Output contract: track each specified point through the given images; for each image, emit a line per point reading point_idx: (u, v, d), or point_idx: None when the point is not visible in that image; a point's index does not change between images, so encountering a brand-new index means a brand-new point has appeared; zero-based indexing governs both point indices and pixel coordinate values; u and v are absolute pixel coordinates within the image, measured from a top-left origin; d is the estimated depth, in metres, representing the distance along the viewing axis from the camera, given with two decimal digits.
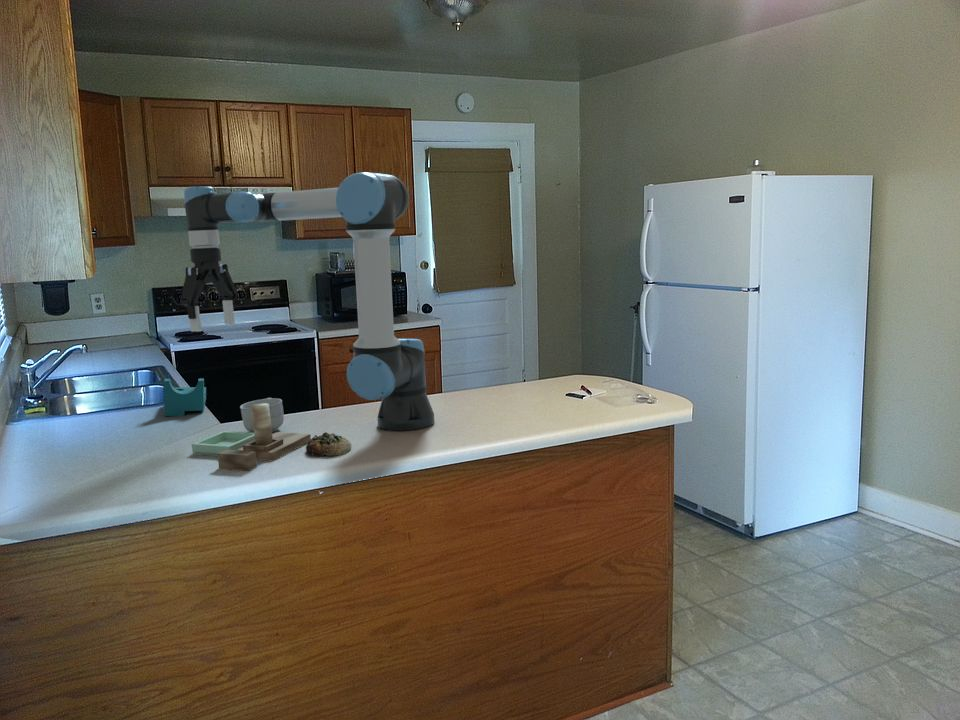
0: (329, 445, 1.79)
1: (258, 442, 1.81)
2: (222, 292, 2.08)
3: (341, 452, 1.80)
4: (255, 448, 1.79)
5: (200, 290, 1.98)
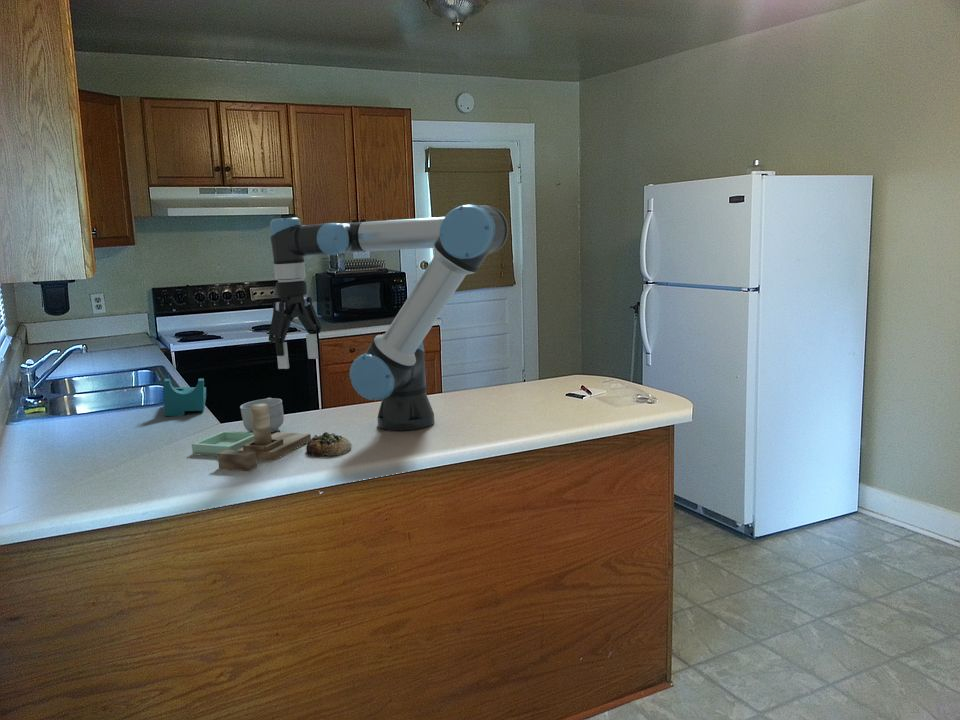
0: (329, 445, 1.80)
1: (257, 443, 1.81)
2: (306, 325, 2.00)
3: (341, 452, 1.80)
4: (255, 448, 1.79)
5: (288, 325, 1.90)
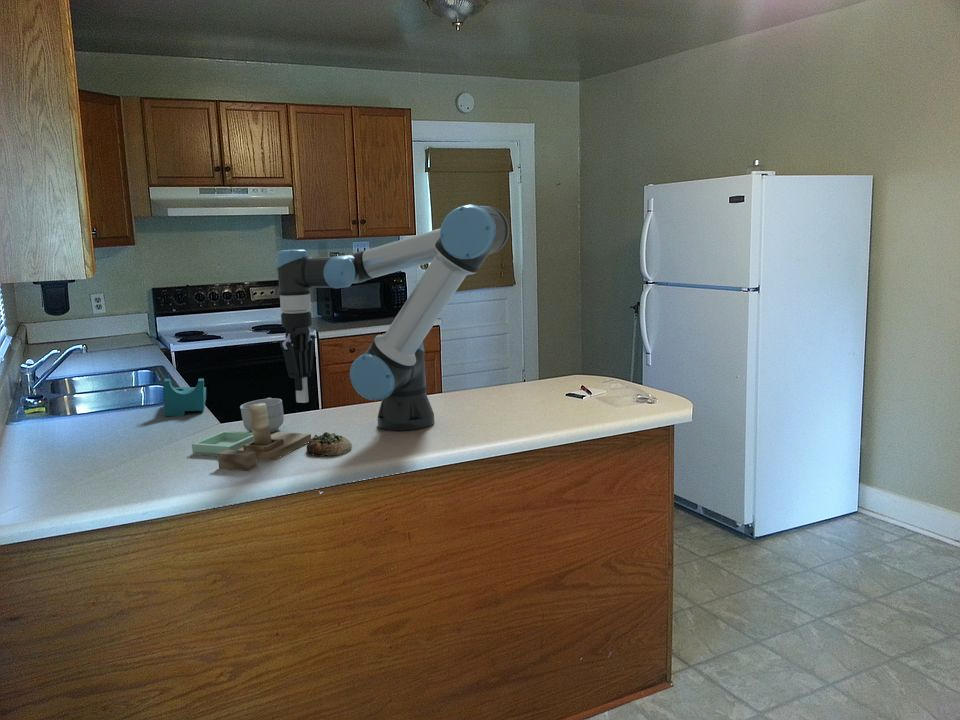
0: (329, 445, 1.80)
1: (256, 443, 1.81)
2: None
3: (341, 452, 1.80)
4: (255, 448, 1.79)
5: (300, 359, 1.95)
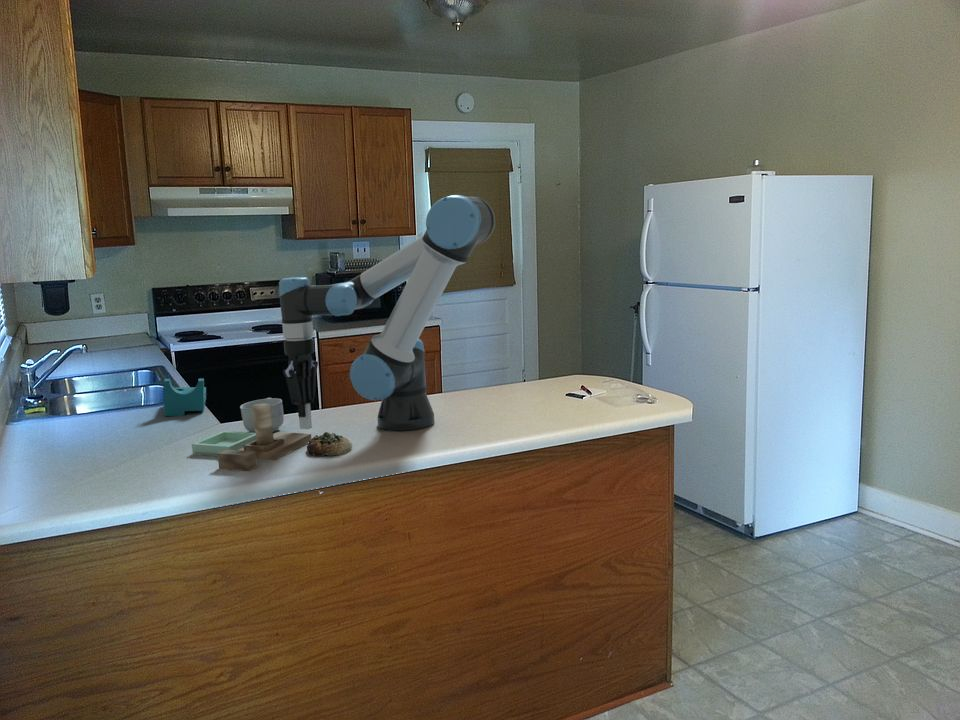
0: (330, 445, 1.80)
1: (259, 442, 1.81)
2: None
3: (342, 452, 1.80)
4: (255, 448, 1.79)
5: (303, 386, 1.96)
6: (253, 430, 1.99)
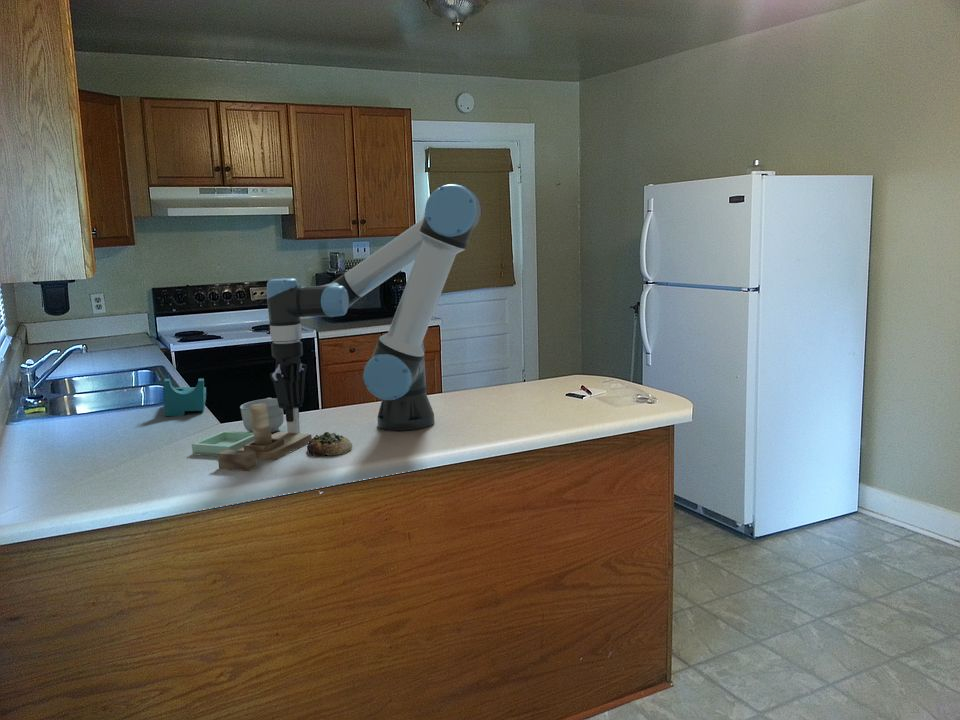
0: (330, 445, 1.80)
1: (257, 443, 1.81)
2: None
3: (342, 452, 1.80)
4: (256, 448, 1.79)
5: (291, 390, 1.91)
6: None
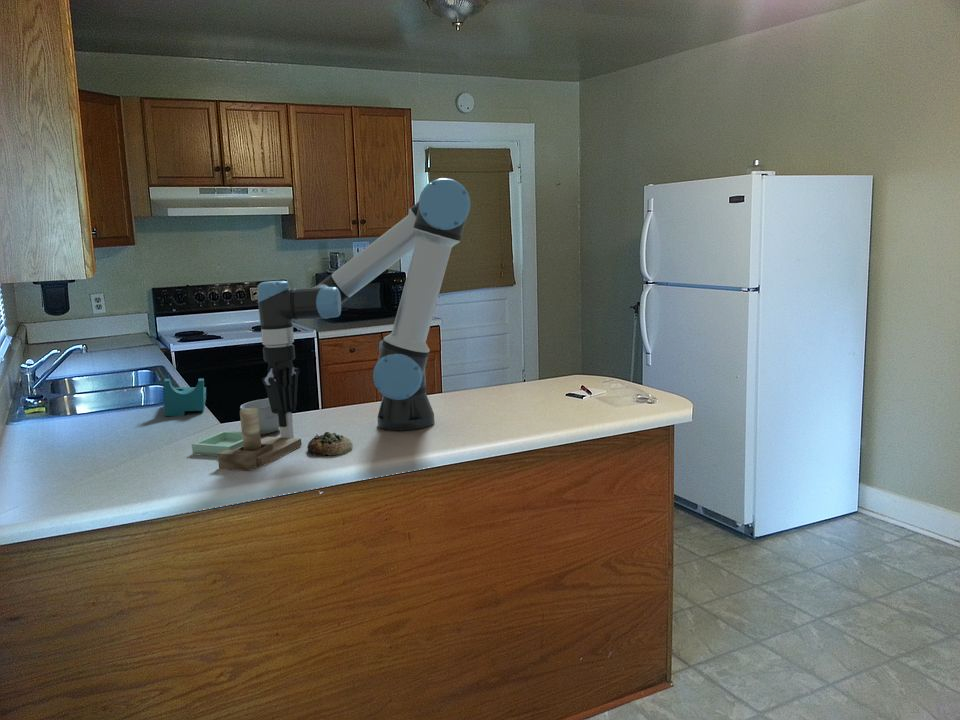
0: (330, 445, 1.80)
1: (246, 448, 1.77)
2: None
3: (342, 451, 1.80)
4: None
5: (284, 394, 1.88)
6: None
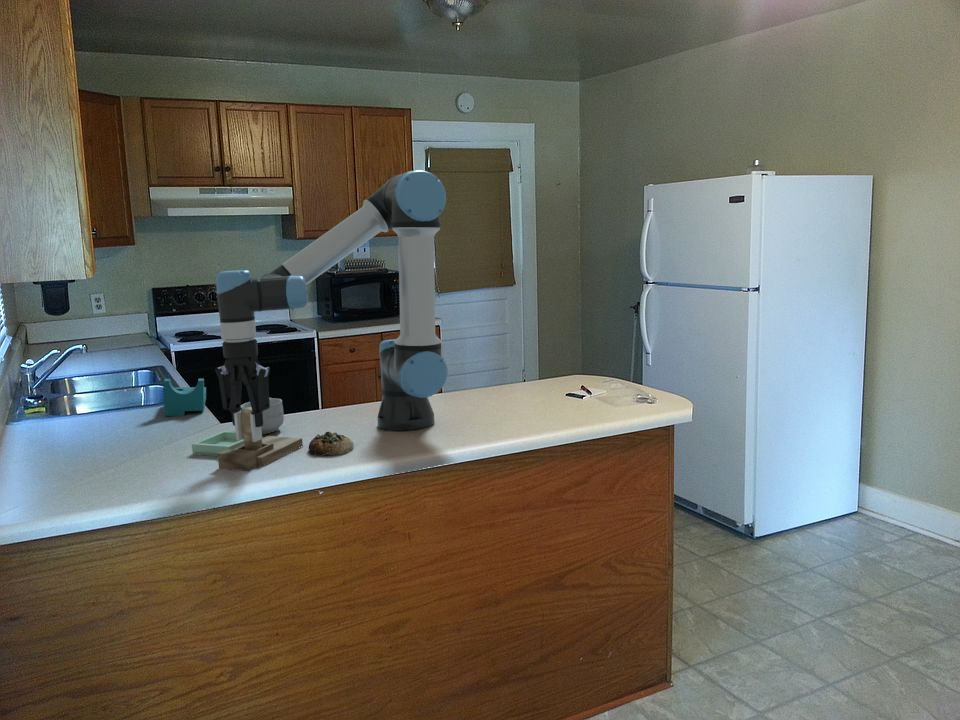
0: (331, 444, 1.80)
1: (247, 447, 1.77)
2: None
3: (343, 451, 1.81)
4: None
5: (233, 392, 1.75)
6: None
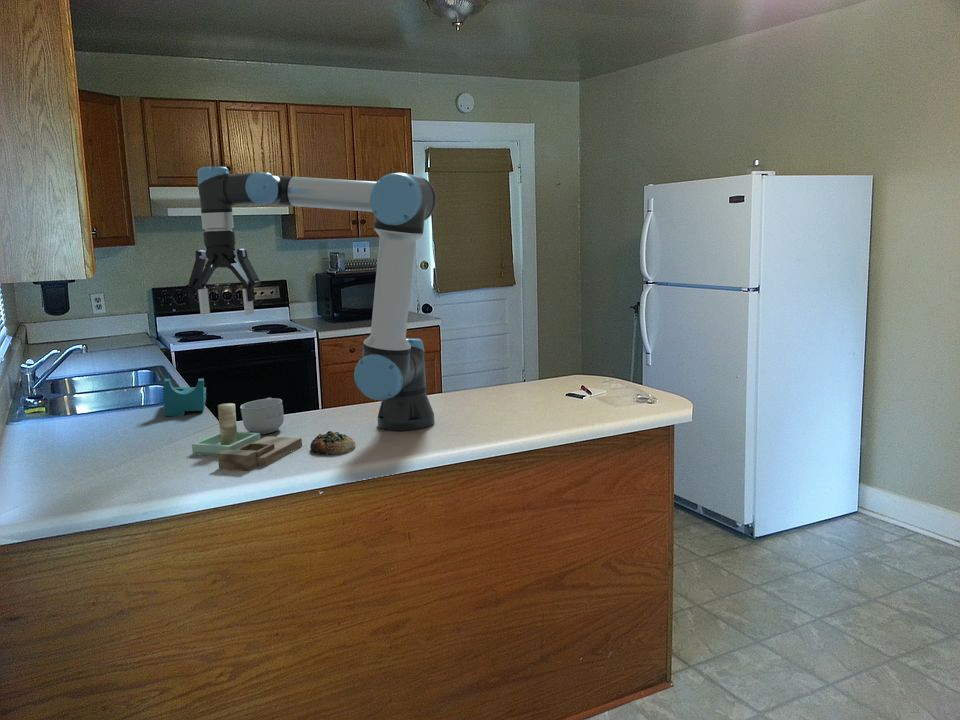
0: (333, 444, 1.81)
1: (222, 441, 1.88)
2: None
3: (345, 450, 1.81)
4: None
5: (204, 274, 1.95)
6: (253, 430, 1.99)
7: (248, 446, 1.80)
